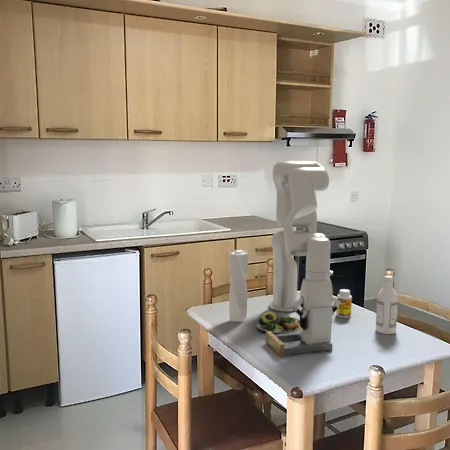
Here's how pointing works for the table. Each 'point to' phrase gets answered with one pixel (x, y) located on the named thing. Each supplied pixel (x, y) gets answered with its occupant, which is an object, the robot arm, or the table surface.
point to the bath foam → (387, 308)
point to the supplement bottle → (344, 303)
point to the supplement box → (318, 326)
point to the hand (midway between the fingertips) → (315, 327)
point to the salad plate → (277, 323)
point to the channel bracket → (294, 344)
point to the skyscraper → (238, 285)
